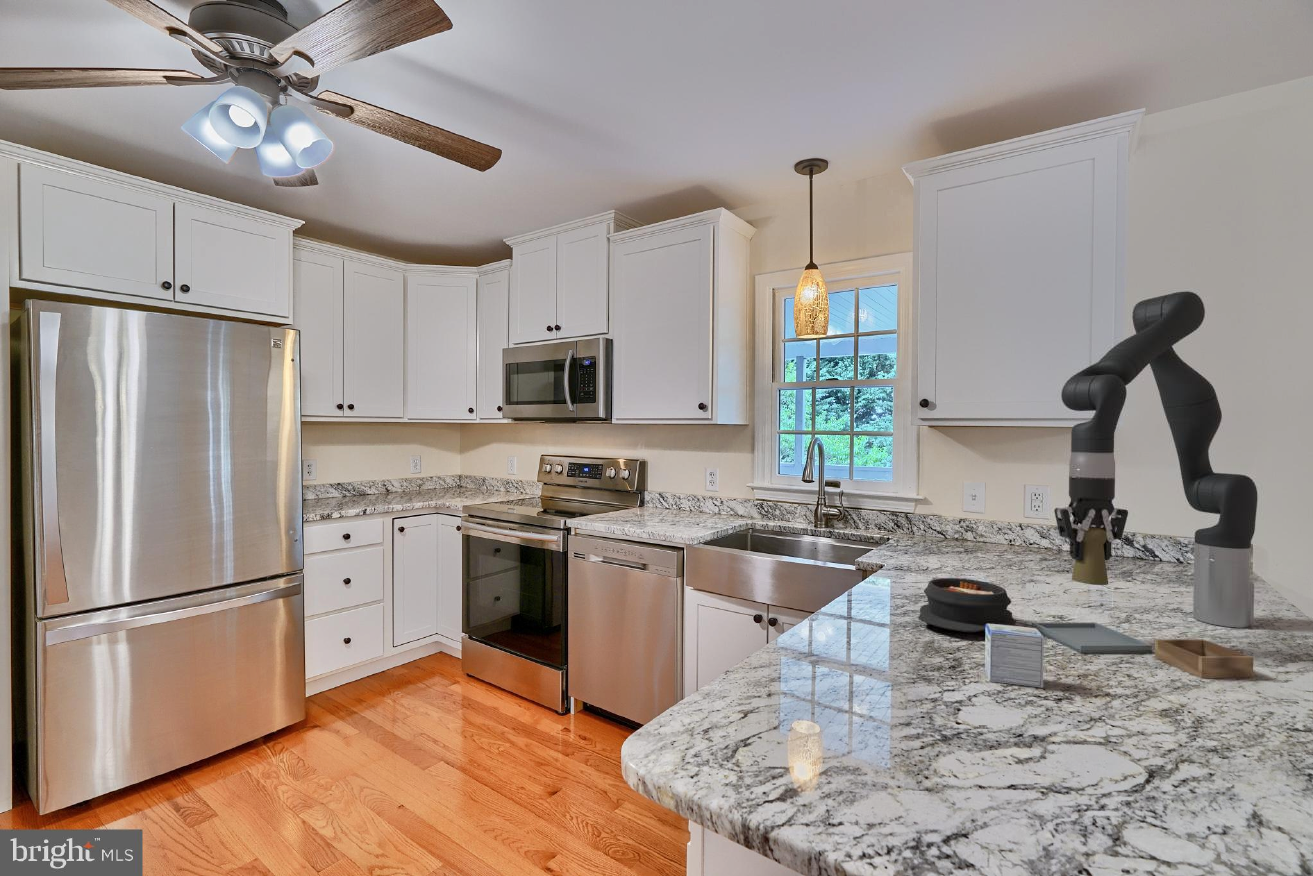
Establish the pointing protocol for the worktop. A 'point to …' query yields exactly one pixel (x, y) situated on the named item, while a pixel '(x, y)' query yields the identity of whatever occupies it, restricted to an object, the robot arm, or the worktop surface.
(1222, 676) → the holder
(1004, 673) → the medicine box
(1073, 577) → the cork
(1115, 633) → the tray
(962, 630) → the casserole
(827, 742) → the worktop surface
